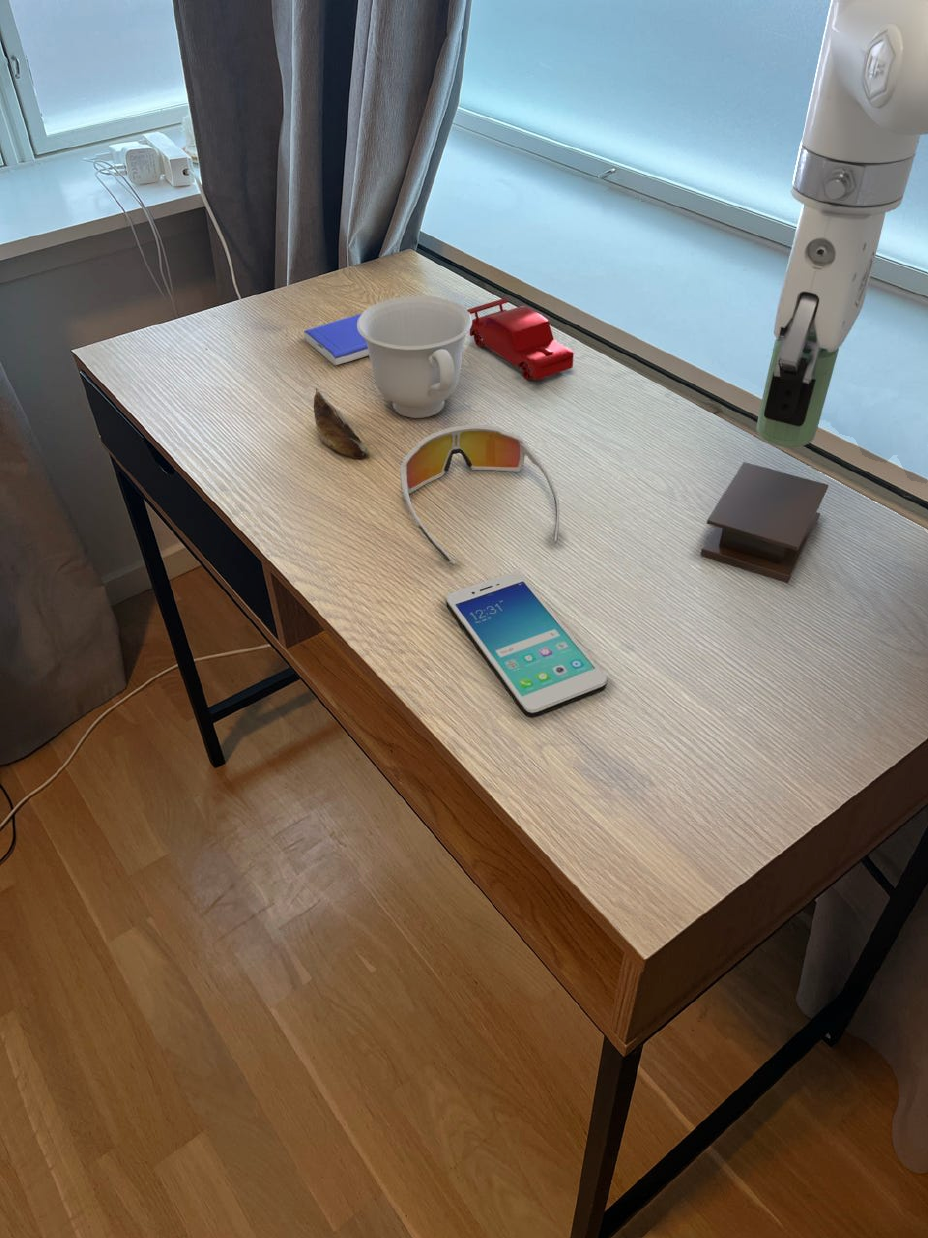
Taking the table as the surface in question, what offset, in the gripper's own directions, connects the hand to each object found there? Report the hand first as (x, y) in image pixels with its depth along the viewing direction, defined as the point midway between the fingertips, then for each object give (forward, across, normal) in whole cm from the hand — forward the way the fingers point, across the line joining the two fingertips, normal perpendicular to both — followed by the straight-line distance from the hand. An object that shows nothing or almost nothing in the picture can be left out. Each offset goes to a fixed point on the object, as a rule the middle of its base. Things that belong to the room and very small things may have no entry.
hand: (793, 402), depth 80 cm
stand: (+14, 0, 0) cm, 14 cm away
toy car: (+14, +20, +35) cm, 43 cm away
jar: (+3, 0, 0) cm, 3 cm away
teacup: (+14, +4, +39) cm, 42 cm away
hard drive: (+14, +15, +54) cm, 58 cm away
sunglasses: (+14, -9, +25) cm, 30 cm away
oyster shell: (+14, -5, +44) cm, 46 cm away
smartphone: (+14, -23, +13) cm, 30 cm away
